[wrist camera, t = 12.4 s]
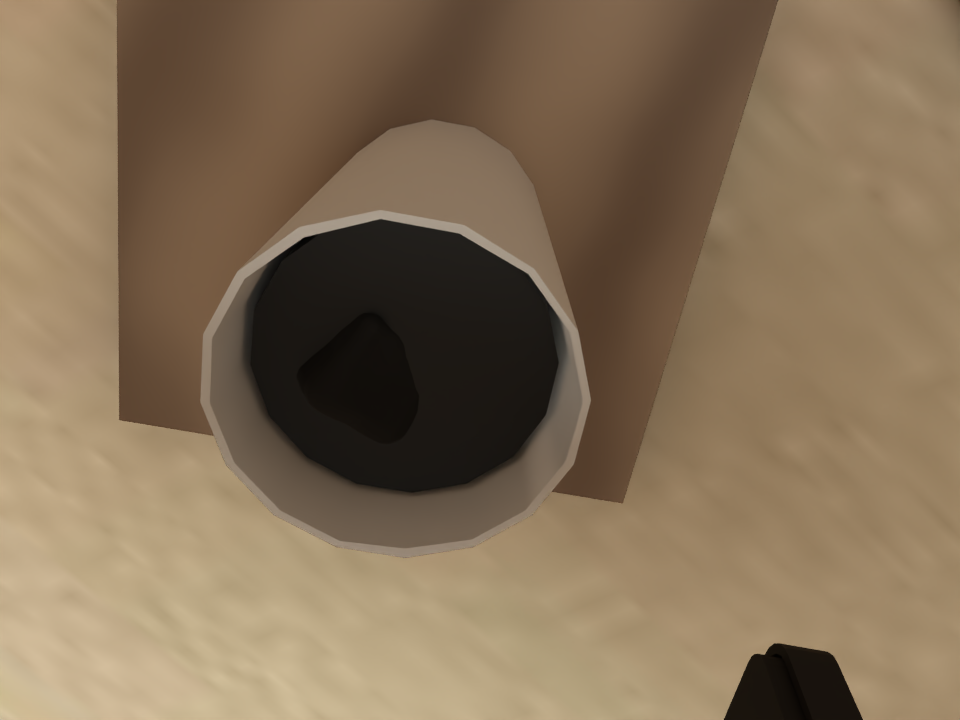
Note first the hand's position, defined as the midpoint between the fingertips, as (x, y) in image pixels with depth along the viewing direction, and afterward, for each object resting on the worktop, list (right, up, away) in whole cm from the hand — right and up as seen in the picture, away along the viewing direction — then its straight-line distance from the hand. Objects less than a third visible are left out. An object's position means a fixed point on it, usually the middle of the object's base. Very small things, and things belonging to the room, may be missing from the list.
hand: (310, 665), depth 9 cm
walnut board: (0, +8, +16) cm, 17 cm away
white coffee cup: (+1, +7, +14) cm, 16 cm away
